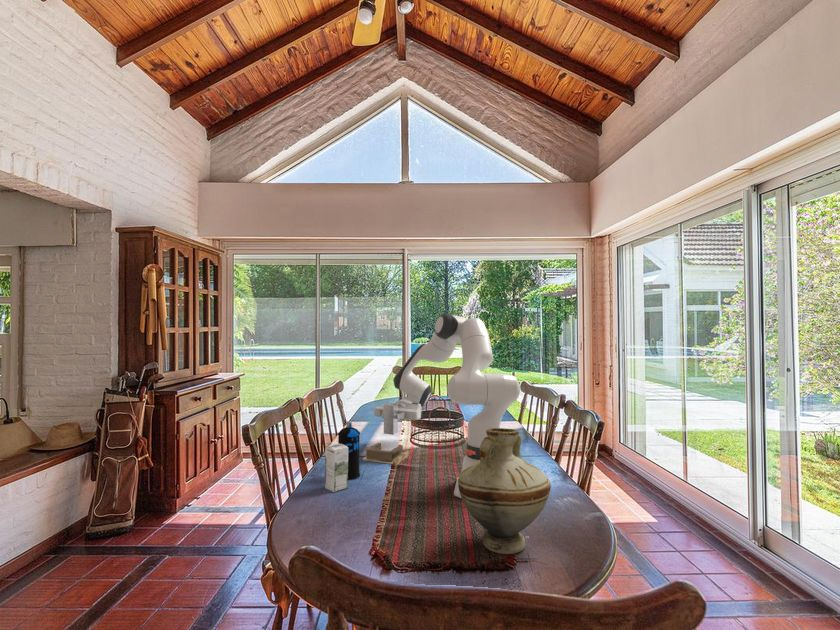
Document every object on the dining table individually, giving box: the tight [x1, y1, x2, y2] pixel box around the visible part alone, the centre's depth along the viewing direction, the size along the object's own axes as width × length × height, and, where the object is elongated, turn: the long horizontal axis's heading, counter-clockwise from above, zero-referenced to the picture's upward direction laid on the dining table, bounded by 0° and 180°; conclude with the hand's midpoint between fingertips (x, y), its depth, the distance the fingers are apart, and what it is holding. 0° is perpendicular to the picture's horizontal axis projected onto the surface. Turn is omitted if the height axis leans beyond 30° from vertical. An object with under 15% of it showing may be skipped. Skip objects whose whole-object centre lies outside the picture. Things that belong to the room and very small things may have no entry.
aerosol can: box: [337, 420, 361, 481], centre depth 167 cm, size 8×8×20 cm
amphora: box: [457, 427, 552, 555], centre depth 118 cm, size 24×24×30 cm
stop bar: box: [383, 402, 399, 436], centre depth 189 cm, size 4×4×12 cm
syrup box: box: [324, 443, 349, 493], centre depth 155 cm, size 6×6×14 cm
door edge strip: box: [392, 449, 411, 467], centre depth 186 cm, size 16×1×2 cm, turn 159°
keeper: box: [361, 442, 405, 465], centre depth 190 cm, size 14×14×4 cm
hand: (389, 416), depth 188 cm, fingers closed on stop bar, 4 cm apart
